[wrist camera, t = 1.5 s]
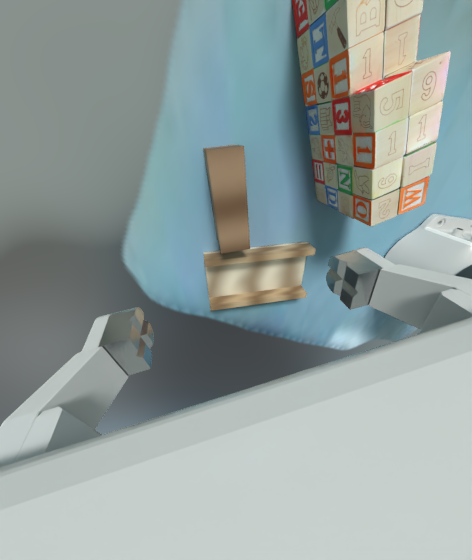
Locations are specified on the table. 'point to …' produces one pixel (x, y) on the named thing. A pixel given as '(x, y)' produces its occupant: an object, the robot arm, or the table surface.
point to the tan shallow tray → (256, 275)
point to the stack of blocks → (369, 104)
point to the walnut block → (228, 196)
